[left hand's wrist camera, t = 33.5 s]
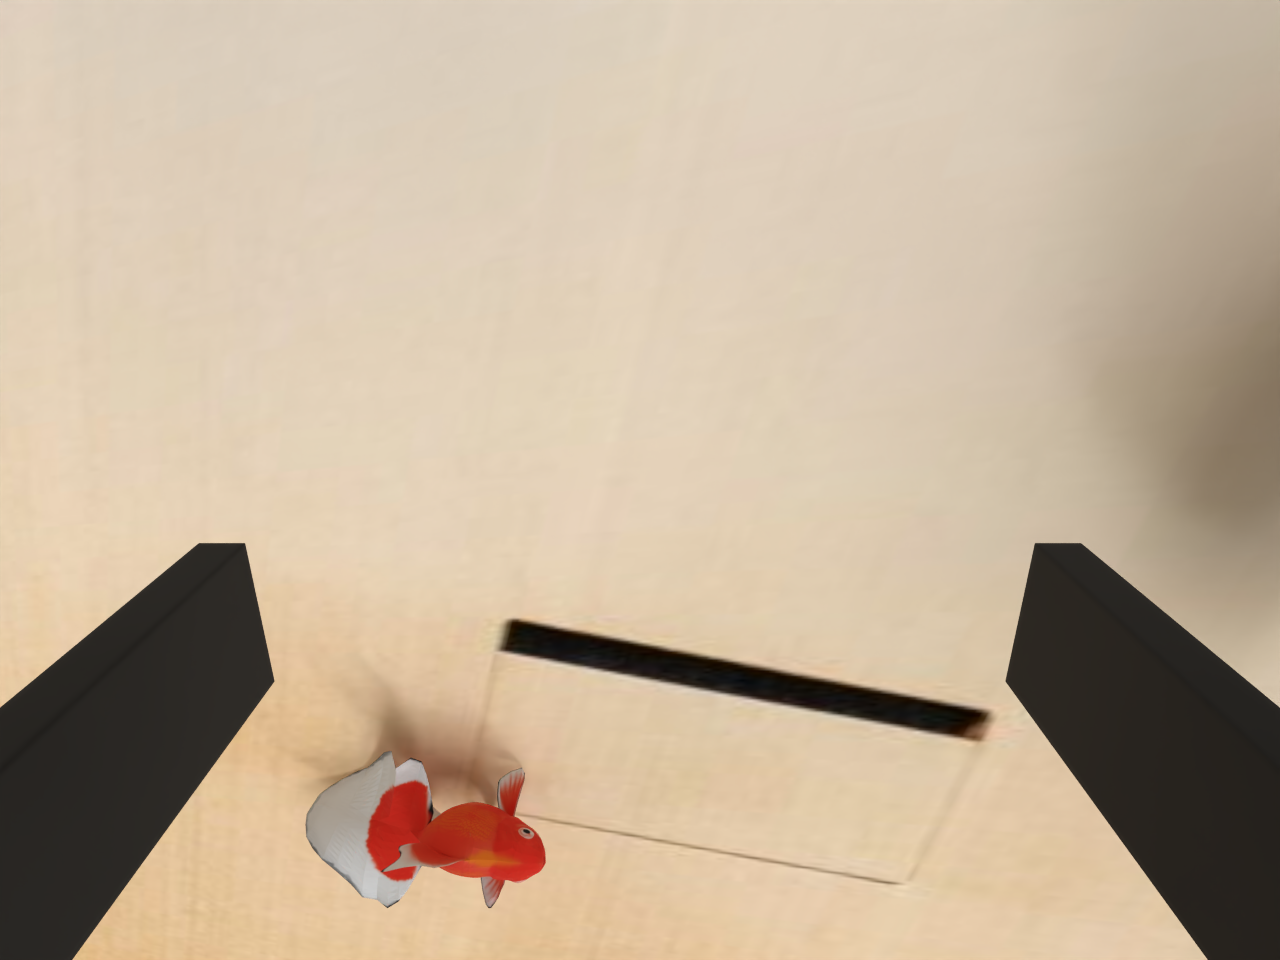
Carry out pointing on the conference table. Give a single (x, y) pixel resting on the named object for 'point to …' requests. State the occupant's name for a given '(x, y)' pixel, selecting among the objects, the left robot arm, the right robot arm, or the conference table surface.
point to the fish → (419, 832)
